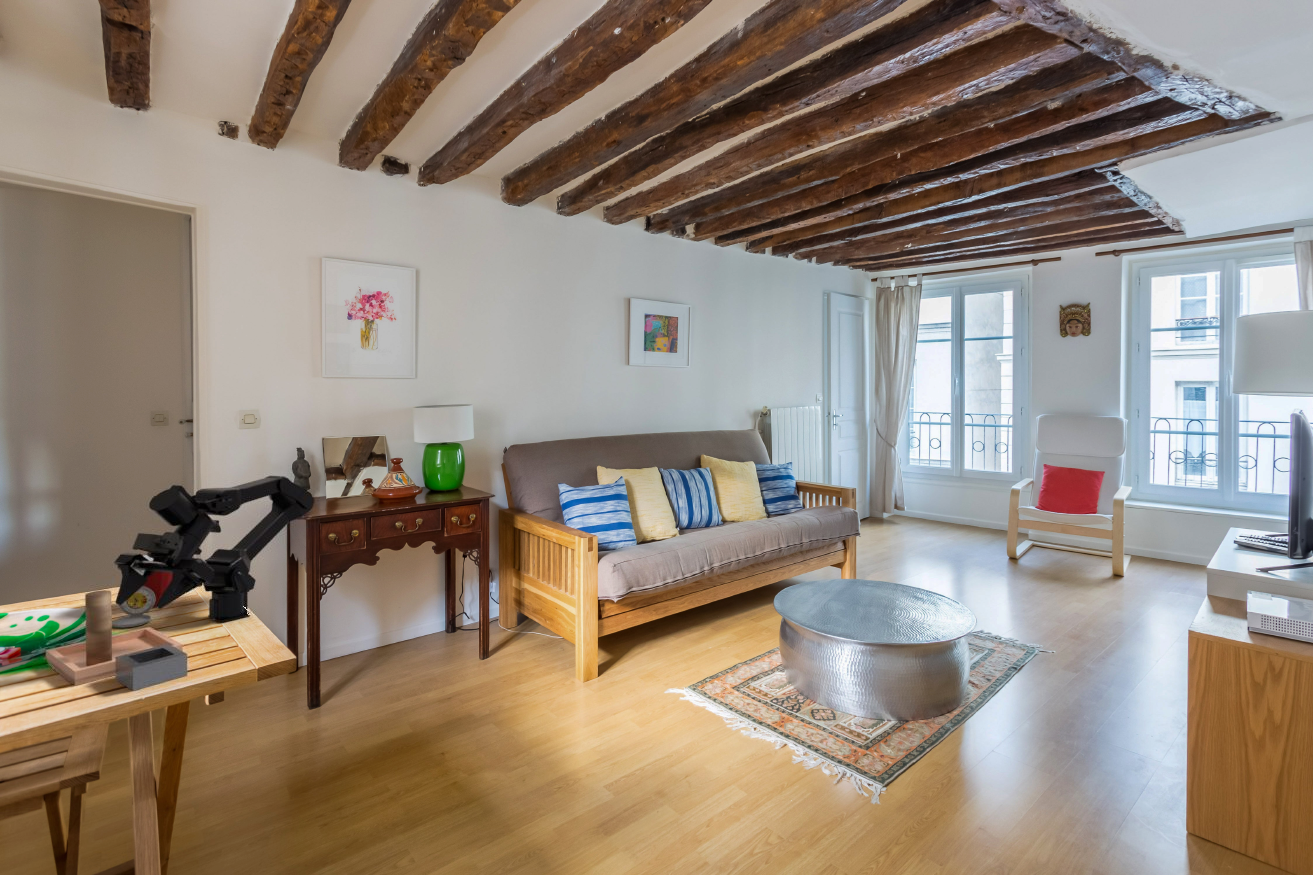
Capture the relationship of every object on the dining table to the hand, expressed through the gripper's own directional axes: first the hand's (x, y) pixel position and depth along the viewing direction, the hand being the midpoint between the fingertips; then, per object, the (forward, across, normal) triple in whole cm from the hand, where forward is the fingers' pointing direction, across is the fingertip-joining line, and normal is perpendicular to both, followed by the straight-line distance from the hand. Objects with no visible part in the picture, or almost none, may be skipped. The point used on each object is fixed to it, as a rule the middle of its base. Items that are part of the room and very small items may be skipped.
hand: (137, 605), depth 125 cm
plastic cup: (-11, -24, +24) cm, 36 cm away
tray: (+9, 0, +4) cm, 10 cm away
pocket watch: (-3, -17, +17) cm, 24 cm away
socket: (+13, +13, 0) cm, 18 cm away
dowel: (+11, 0, 0) cm, 11 cm away
